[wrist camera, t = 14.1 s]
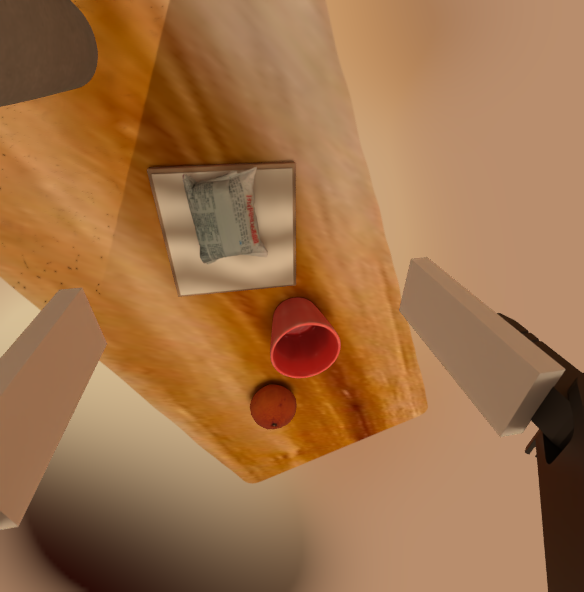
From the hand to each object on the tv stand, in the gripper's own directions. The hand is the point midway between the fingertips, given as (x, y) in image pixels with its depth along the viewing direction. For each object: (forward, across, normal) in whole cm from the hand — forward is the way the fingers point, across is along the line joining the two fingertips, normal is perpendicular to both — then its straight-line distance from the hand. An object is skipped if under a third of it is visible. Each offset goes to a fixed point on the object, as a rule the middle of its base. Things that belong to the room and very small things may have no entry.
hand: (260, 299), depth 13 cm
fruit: (+32, +2, -44) cm, 54 cm away
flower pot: (+32, +7, -25) cm, 41 cm away
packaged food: (+31, 0, -9) cm, 33 cm away
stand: (+32, -2, -9) cm, 33 cm away
